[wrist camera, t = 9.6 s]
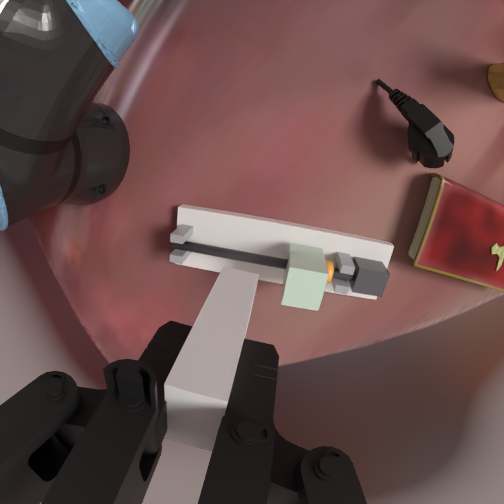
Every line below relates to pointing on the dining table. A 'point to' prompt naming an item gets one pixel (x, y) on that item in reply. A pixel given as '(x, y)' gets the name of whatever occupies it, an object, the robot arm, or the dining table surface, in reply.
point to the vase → (497, 80)
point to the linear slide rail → (277, 249)
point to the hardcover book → (460, 234)
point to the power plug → (423, 130)
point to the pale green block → (304, 277)
